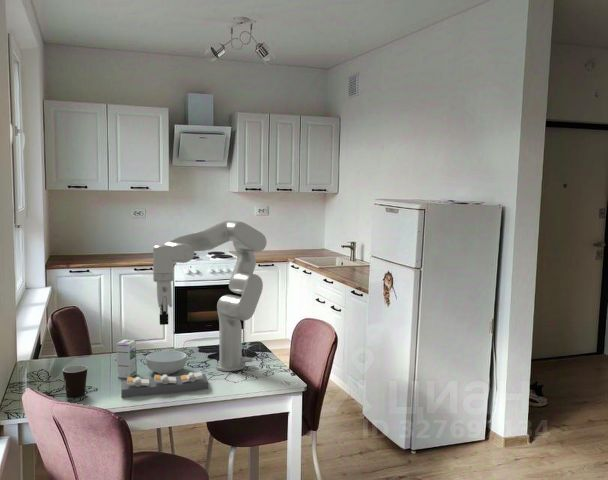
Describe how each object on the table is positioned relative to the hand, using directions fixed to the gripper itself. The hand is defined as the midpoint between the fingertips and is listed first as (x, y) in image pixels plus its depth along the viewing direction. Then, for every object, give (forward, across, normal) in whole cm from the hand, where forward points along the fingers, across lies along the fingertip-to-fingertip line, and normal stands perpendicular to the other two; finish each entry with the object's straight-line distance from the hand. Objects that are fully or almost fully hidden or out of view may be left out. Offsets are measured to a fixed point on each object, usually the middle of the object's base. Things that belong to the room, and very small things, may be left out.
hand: (164, 324), depth 219 cm
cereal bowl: (+25, +19, -2) cm, 32 cm away
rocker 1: (+22, -4, +10) cm, 24 cm away
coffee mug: (+25, +2, +32) cm, 41 cm away
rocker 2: (+22, -4, -10) cm, 24 cm away
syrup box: (+25, +18, +14) cm, 34 cm away
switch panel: (+25, -2, 0) cm, 25 cm away
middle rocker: (+22, -4, 0) cm, 22 cm away
